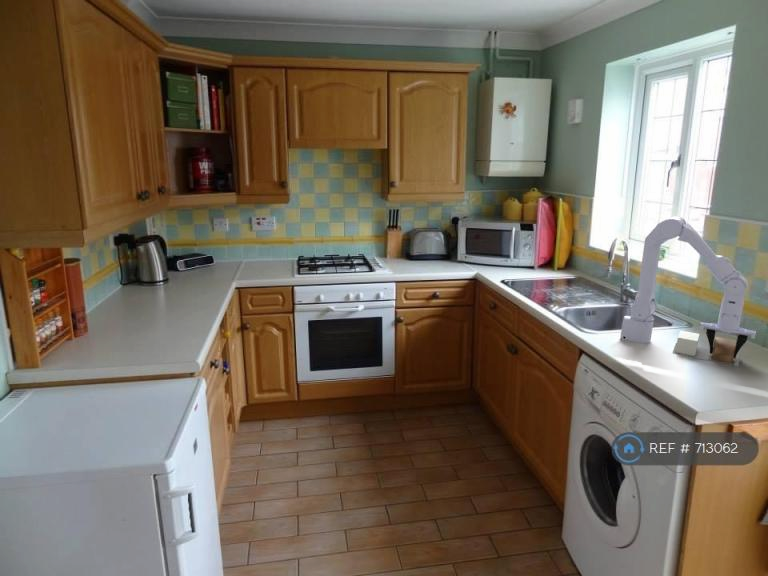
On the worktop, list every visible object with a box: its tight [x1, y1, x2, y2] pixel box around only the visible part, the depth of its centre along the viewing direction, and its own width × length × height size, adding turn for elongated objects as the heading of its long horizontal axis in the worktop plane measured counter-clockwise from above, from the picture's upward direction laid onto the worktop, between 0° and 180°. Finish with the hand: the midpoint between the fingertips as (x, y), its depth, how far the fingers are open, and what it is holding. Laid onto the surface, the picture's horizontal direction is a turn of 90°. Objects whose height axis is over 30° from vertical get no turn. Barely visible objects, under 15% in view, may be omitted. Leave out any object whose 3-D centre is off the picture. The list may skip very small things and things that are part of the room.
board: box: [672, 342, 740, 367], centre depth 171 cm, size 18×12×1 cm, turn 57°
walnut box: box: [711, 336, 737, 363], centre depth 168 cm, size 6×9×5 cm, turn 147°
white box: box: [675, 330, 700, 356], centre depth 173 cm, size 6×9×5 cm, turn 147°
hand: (722, 354), depth 169 cm, fingers closed on walnut box, 6 cm apart
